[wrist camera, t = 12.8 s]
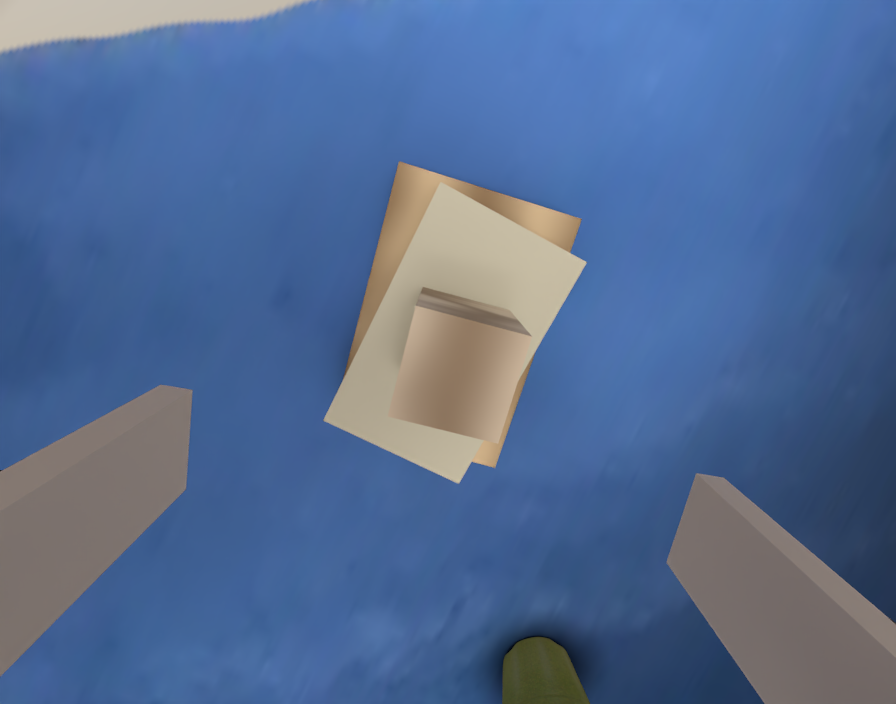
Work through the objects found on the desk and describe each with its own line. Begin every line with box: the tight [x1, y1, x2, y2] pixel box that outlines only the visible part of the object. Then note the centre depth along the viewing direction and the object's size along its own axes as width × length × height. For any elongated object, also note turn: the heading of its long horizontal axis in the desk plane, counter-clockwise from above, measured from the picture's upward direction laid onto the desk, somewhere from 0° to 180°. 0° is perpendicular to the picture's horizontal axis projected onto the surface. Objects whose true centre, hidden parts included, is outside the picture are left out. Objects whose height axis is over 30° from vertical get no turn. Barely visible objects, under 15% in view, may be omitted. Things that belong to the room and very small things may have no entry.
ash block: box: [388, 287, 532, 444], centre depth 24 cm, size 5×5×7 cm
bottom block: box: [343, 161, 582, 468], centre depth 35 cm, size 12×18×5 cm, turn 163°
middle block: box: [323, 182, 587, 484], centre depth 30 cm, size 9×15×5 cm, turn 152°
